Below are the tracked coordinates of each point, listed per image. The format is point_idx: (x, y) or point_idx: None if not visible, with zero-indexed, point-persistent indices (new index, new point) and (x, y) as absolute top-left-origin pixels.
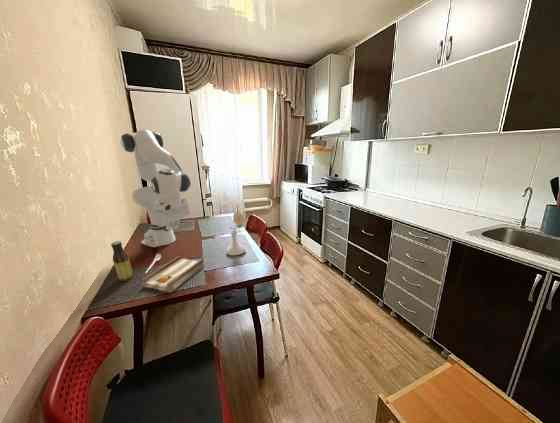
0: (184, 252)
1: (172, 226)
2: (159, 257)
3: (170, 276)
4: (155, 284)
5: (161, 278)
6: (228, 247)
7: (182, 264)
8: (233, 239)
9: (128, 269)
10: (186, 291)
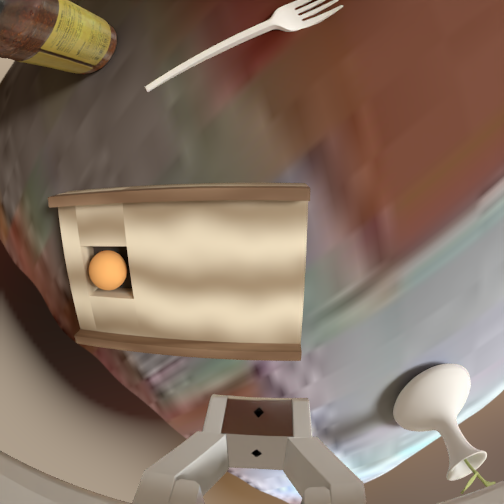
0: (416, 125)
1: (203, 435)
2: (314, 18)
3: (132, 285)
4: (68, 267)
5: (90, 275)
6: (438, 388)
7: (244, 264)
8: (446, 440)
9: (62, 66)
10: (122, 372)
